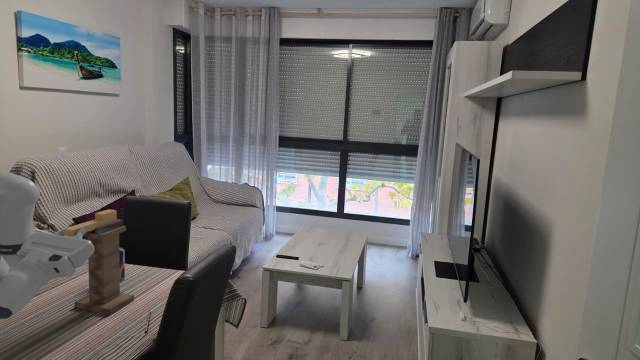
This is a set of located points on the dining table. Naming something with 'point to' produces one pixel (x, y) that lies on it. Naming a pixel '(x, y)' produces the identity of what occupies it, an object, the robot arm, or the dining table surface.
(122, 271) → the energy drink
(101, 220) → the wooden stick
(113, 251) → the holder stand
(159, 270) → the dining table surface
